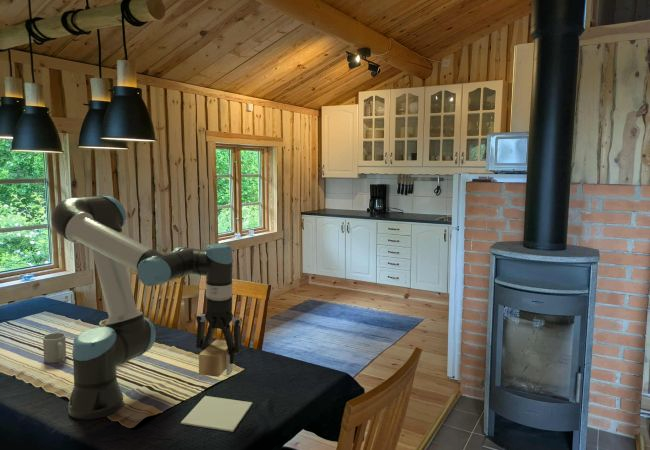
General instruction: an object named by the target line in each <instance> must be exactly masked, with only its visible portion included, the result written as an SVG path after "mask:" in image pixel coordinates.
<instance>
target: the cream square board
mask: <svg viewBox="0 0 650 450" xmlns="http://www.w3.org/2000/svg"><path fill="white" fill-rule="evenodd" d="M252 405H253V402H252V401H243V400H236V399H230V398H223V397H217V396H216V397H215V396H209V395H204V397H202V398H201V400H200V401H198V403H197V404H196V405H195V406H194V407H193V408H192V409H191V411H190V412H188V414H187V415H186V416H185V417H184V418H183V419H182V420H181V421H180V424H181V425H186V426H193V427H199V428H206V429H213V430H220V431H226V432H231V433H233V432H234V431H235V430H236V428H237V427H238V426H239V424H240V422H241V421H242V419H243V418H244V417H245V416H246V414H247V412H248V411H249V409H250V408H251V407H252Z"/></svg>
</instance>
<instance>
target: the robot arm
mask: <svg viewBox="0 0 650 450" xmlns="http://www.w3.org/2000/svg"><path fill="white" fill-rule="evenodd" d="M126 220H127V212H126V209H125V207H124V206H123V204H122V203H121V202H120V201H119V200H118V199H116V198H115V197H114V196H109V195H96V196H83V197H69V198H66V199H64V200H61V201H60V202H58V204H57V205H55V207H54V208H53V211H52V214H51V226H52V227H53V229H54V231H55V232H56V233H57V234H58V235H59V236H60V237H62V238H64V239H65V240H67V241H69V242H71V243H73V244H78V243H80V244H82V245H84V246H85V247H88V248H90V249H91V250H92V256H93V259H94V263H95V268H96V272H97V275H98V279H99V283H100V286H101V291H102V294H103V299H104V302H105V306H106V311H107V314H108V318H107V319H108V320H107V321H106V323H105V324H106V327H99V326H98V327H95V328H94V327H93V328H92V327H91V328H89V329H87V330H86V329H85V331H84V330H83V331H82V332H80V333H79V334H78V335H77V336H76V337H75V338H74V340H73V343H72V350H71V351H72V353H71V354H72V363H73V389H72V391H71V395H70V397H69V401H68V404H67V408H68V409H67V410H68V415H69V416H70V417H72V418H74V419H77V420H85V421H87V420H88V421H89V420H96V419H101V418H105V417H107V416H110V415H113V414H114V413H116V412H117V411H118V410H120V409H121V408H122V406H124V405H123V404H124V395H123V392H122V390H121V387H120V385H119V382H118V380H117V378H118V377H117V368H118V367H119V366H121V365H123V364H125V363H127V362H129V361H131V360H133V359H135V358H137V357H138V358H139V357H140V356H142V355H143V354H145V353H147V352H149V350H151V349H152V348H153V345H154V344H155V342H156V336H157V335H156V334H157V333H156V328H155V325H154V323H153V322H152V321H151V320H150V319H149V318H147V317H146V316H145V317H144V313H143V311H140V310H138V308H137V305H136V302H135V301H136V300H135V299H134V293H133V289H132V286H131V282H130V281H131V280H130V277H129V274H128V270H127V268H128V269H131V270H132V271H134V272H136V274H137V275H136V276H137V278H138V280H139V281H141V283H142V285H145V286H147V287H154V286H160V285H164V284H166V283H168V282H171V281H174V280H177V279H181V278H184V277H187V276H189V275H197V276H202V277H203V276H204V277H205V284H206V285H205V296H206V298H205V311H206V312H205V313H204V314H202V313H200V314H198V315H197V316H196V317H195V320H196V324H197V326H196V327H197V328H196V329H197V330H196V341H195V342H196V345H195V346H196V349H201V352H202V351H203V350H205V349H206V348H207V347H208V346H209V345H210V344H211V343H212V338H213V335H214V333H215V330H216V329H219V330H221V333H223V336H224V340H226V344H227V347H228V351H229V352H228V353H227V364H226V370H225V371H226V372H225V375H226V376H230V375H231V374H232V373H233V364H234V363H235V362H236V353H237V354H238V353H239V352H240V351H241V350H242V347H243V346H242V330H241V329H242V328H241V327H242V322H243V319H242V317H239V318H238V317H235V316H234V314H233V298H232V296H233V263H234V257H233V248H232V246H231V245H229V244H224V243H212V244H208V245H207V246H206V248H205V249H198V248H193V247H189V246H184V247H183V246H178V247H175V248H174V249H173V250H172V251H171V252H170V253H164V254H163V253H161V252H159V251H157V250H155V249H152V248H150V247H148V246H146V245H145V244H142V243H141V242H139V241H137V240H134V239H133V238H132V237H129V236H127V235H125V234H123V229H122V228H123V227H124V225H125V224H126ZM205 321H206V322H208V327H207V332H206V333H205V328H206V327H205V326H206V322H205ZM231 322H232V325H233V333H232V331H231ZM205 334H206V335H205Z"/></svg>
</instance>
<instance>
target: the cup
mask: <svg viewBox="0 0 650 450" xmlns="http://www.w3.org/2000/svg"><path fill="white" fill-rule="evenodd" d="M66 339H67V338H66V333H64V332H51V333H48V334H45V335H44V336H43V337H42V342H43V343H42V344H43V347H42V349H43V360H44V362H45V363H48V364H55V363H59V362H62V361H63V362H64V360H65V359H66V357H67V350H66V349H67V345H66Z"/></svg>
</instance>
